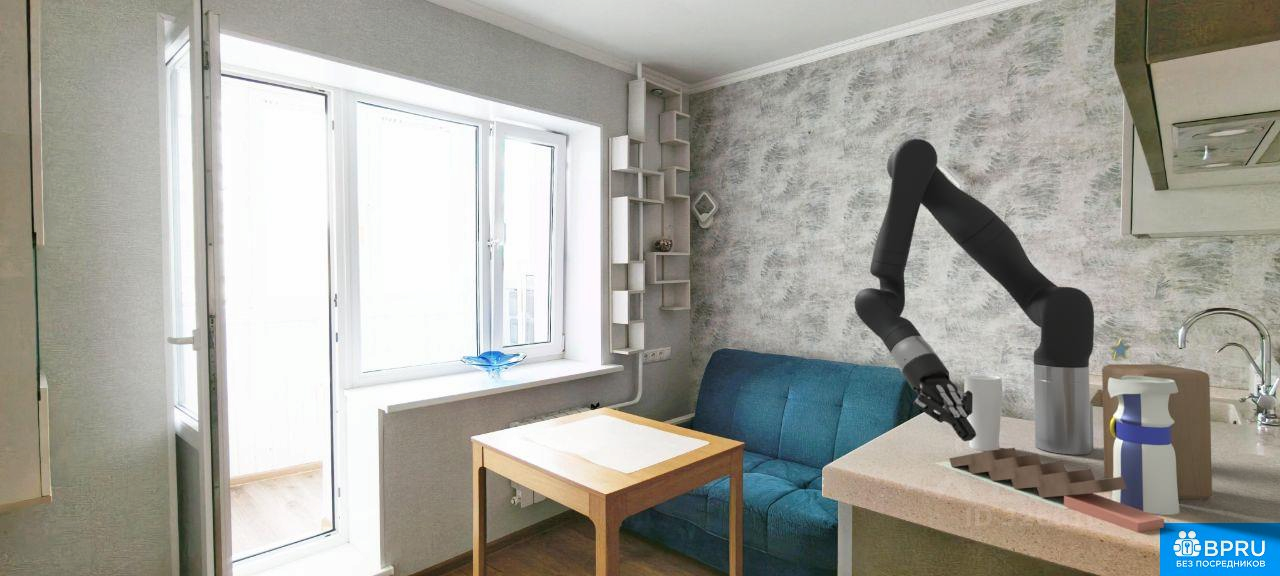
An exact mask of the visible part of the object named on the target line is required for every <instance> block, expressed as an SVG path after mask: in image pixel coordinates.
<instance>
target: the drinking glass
mask: <svg viewBox="0 0 1280 576" xmlns="http://www.w3.org/2000/svg"><path fill="white" fill-rule="evenodd" d="M963 382H964V383H963V386H964V387H963V392H964V393H965V392H966V391H970V392H971V393H972V394H973V401H972V413H971V414H970V415H969V416H968V417H967V420H968V421H969V423H970V424H971V426H972V427H973V428H974V430H975V432H976V436H975V437H974V438H973V439H972V440H971V441H968V443H969V444H968V446H969V448H970V449H972V450H974V451H979V452H986V451H991V450H1000V436H1001V434H1000V432H1001V422H1002V421H1001V420H1002V411H1003V410H1002V409H1003V381H1002V377H1000V376H996V375H989V374H987V375H986V374H968V375H967V374H966V375H965V376H964V381H963Z"/></svg>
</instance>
